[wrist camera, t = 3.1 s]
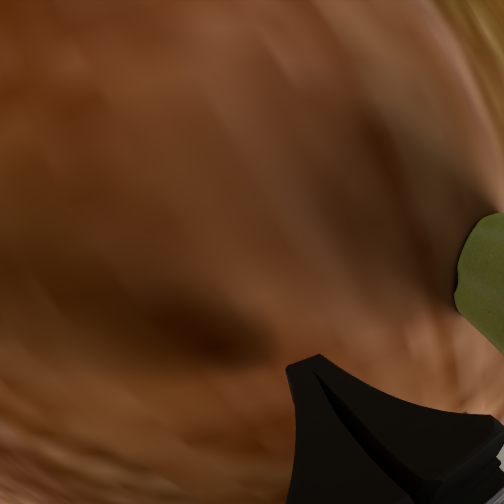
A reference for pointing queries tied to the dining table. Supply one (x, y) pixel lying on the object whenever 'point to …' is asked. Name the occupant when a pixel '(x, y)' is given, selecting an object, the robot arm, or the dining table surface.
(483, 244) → the plant pot
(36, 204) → the dining table surface
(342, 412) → the robot arm
